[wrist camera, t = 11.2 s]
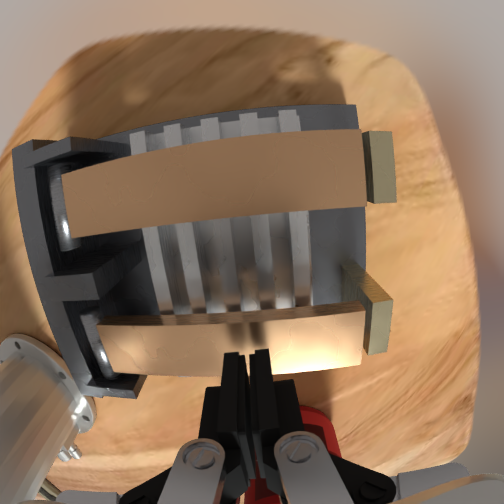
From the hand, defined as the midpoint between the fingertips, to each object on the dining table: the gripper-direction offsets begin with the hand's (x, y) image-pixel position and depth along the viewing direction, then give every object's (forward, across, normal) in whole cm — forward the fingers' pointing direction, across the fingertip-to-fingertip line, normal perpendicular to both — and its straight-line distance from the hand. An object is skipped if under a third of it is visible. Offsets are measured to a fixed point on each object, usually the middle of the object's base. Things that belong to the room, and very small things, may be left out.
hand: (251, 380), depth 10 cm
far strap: (+3, +2, 0) cm, 3 cm away
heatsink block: (+8, +2, -4) cm, 9 cm away
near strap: (+3, +2, -7) cm, 8 cm away
